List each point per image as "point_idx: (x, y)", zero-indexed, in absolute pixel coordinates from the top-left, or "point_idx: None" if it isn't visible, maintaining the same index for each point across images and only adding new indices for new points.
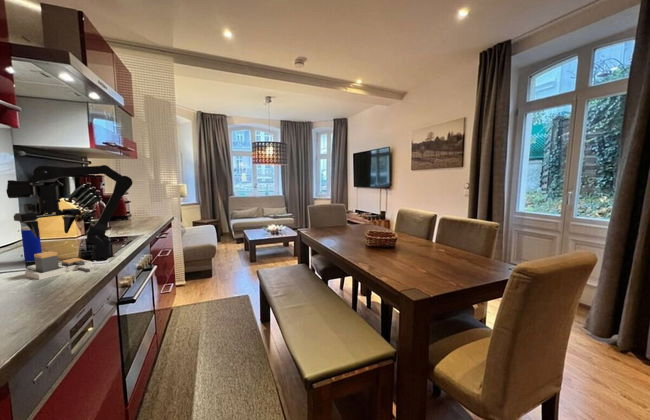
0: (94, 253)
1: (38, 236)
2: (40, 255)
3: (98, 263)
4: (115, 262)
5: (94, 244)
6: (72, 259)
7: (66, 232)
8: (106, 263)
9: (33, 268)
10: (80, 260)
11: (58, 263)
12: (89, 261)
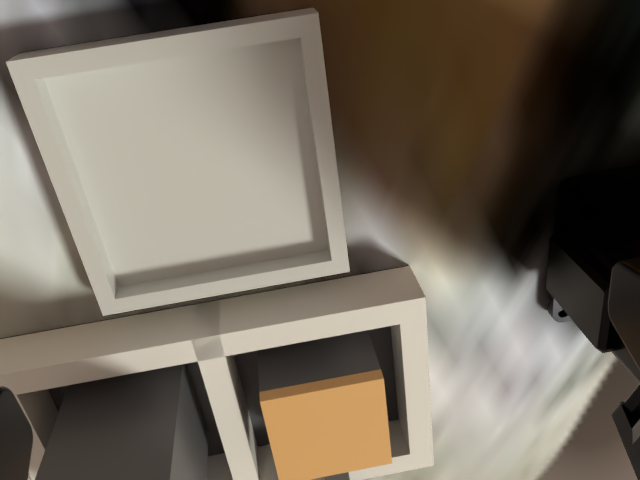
0: (577, 316)
1: (21, 474)
2: None
3: (494, 374)
4: (562, 437)
5: (628, 439)
6: (340, 421)
7: (619, 330)
8: (519, 417)
9: (59, 193)
10: (375, 457)
11: (246, 333)
12: (425, 453)
